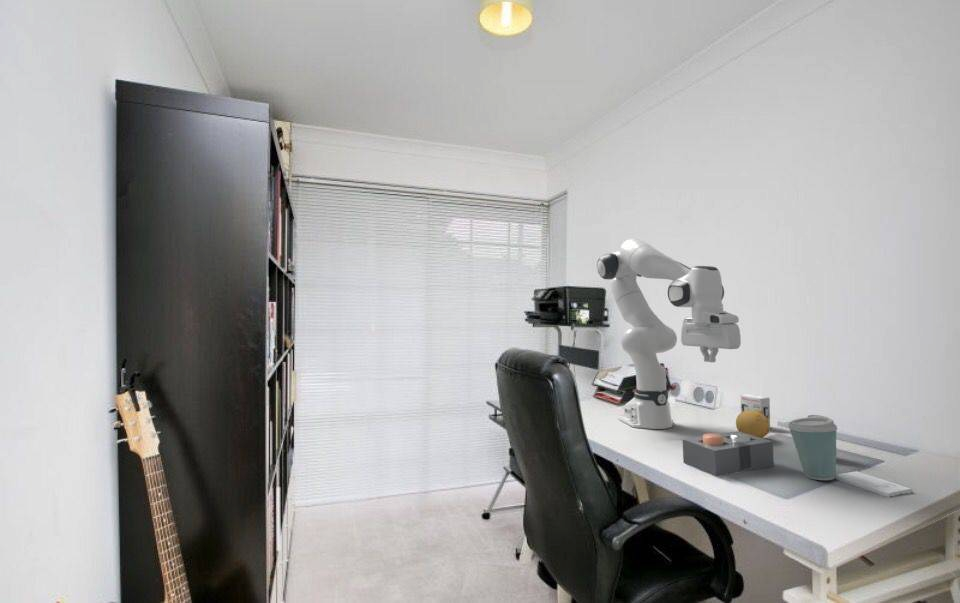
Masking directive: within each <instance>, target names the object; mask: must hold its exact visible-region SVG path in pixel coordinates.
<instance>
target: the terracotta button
mask: <svg viewBox="0 0 960 603" xmlns="http://www.w3.org/2000/svg"><path fill="white" fill-rule="evenodd" d="M718 434H719V433H704V434H702V436H703V443H704V444H707V445H710V446H713V447H714V446H720V445H723V436H721V435H718Z"/></svg>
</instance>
